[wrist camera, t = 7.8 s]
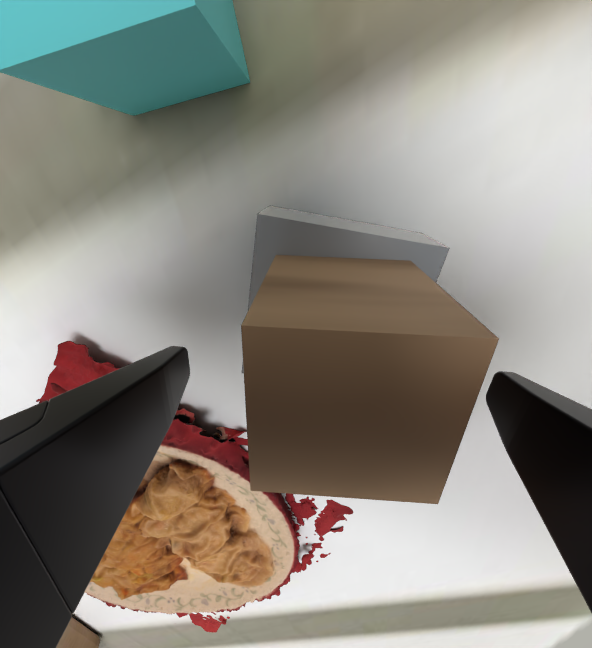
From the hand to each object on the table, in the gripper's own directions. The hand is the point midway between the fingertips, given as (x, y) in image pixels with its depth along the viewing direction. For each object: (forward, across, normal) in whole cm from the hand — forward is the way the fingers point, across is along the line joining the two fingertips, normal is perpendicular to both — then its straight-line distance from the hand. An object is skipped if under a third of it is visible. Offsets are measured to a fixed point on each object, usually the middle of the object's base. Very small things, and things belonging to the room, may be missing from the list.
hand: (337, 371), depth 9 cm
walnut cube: (+4, 0, 0) cm, 4 cm away
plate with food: (+8, +11, +21) cm, 25 cm away
